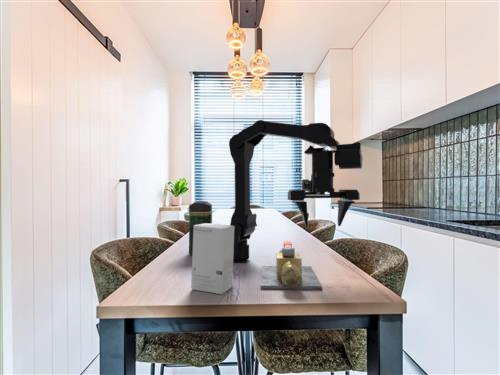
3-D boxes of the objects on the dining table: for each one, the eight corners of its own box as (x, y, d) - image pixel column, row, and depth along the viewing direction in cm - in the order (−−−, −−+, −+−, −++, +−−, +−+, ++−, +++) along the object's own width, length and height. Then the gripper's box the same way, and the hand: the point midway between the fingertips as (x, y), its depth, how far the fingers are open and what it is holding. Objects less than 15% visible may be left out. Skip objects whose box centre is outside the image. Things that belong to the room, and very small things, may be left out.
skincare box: (190, 290, 65) (190, 225, 65) (204, 281, 70) (204, 222, 70) (223, 295, 62) (223, 227, 61) (235, 286, 67) (234, 223, 67)
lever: (295, 256, 71) (294, 250, 71) (282, 256, 71) (282, 249, 71) (292, 246, 82) (292, 241, 82) (281, 246, 83) (281, 240, 83)
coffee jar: (210, 256, 96) (210, 201, 96) (186, 256, 96) (186, 201, 95) (213, 249, 105) (213, 200, 105) (192, 250, 105) (192, 200, 105)
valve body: (322, 291, 63) (322, 265, 63) (260, 290, 64) (260, 265, 64) (310, 268, 81) (310, 248, 81) (261, 267, 82) (261, 247, 82)
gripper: (345, 171, 87) (345, 222, 87) (284, 171, 86) (284, 222, 86) (360, 169, 76) (360, 227, 76) (290, 169, 75) (291, 228, 75)
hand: (322, 226), depth 79 cm, fingers open, 9 cm apart
